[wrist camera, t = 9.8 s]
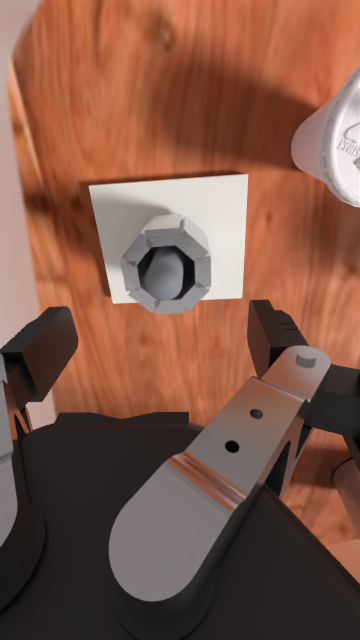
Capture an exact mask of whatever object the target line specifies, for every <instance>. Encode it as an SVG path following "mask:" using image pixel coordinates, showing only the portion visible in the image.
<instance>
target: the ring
mask: <svg viewBox="0 0 360 640" xmlns="http://www.w3.org/2000/svg"><path fill="white" fill-rule="evenodd" d="M174 245H176V246H177V247H178V248H180V249H181V250H182V251H183V252H184V253H185V254H186V255H188V256H189V257H190V258H191V259H192V260H193V261H194V262H193V263H192V264H191V265H190V266H189V267H188V268H187V269H186V270H185V271H184V273H183V280H182V288H181V291H180V293H179V294H178V295H177V296H176V297H175V298H173V299H170V300H165V301H164V300H158V299H155V298H154V297H152V296H151V295H150V294H149V293H148V292H147V290H146V287H145V277H146V274H147V272H148V270H149V267H150V265H151V263H150V255H149V249H150V248H151V247H159V246H174ZM121 258H123V259H122V260H121V262H120V263H121V268H122V274H123V279H124V284H125V290H126V291H130V292H129V294H128V295H129V296H130V297H131V298H133V299H134V300H135V301H137V302H138V303H139V304H141V305H142V306H143V307H145V308H146V309H147V310H149V311H150V312H151V313H152V312H153V311H154V310H156V314H171V313H185V308H186V309H187V310H188V311H190V310H191V309H192V308H193V307H194V306H195V305H196V304H197V303H198V302H199V301H200V300H201V299H202V298H203V297H204V296H205V295H206V294H207V293H208V292H209V291H210V289H209V287H211V255H210V250H209V245H208V239H207V237H206V234H205V233H204V232H203V231H202V230H201V229H200V228H199V227H198V226H197V225H196V224H195V223H194V222H193V221H191V220H190V219H189V218H188V217H187V216H186V215H185V217H184V218H183V219H182V214H172V215H159V216H155V217H154V218H151V219H150V220H149V222H148V223H147V224H146V226H145V227H144V228H143V229H142V231H141V232H140V233H139V235H138V236H137V237H136V239H135V240H134V241H133V243H132V244H131V245H130V247H129V248H128V249H127V251H126V252H125V253H124V255H123V256H122V257H121Z"/></svg>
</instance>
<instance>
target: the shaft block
mask: <svg viewBox="0 0 360 640" xmlns="http://www.w3.org/2000/svg"><path fill="white" fill-rule="evenodd" d="M247 187H248V174H234V175H221V176H207V177H193V178H180V179H166V180H153V181H139V182H126V183H112V184H98V185H91V186H89V191H90V196H91V200H92V205H93V210H94V215H95V220H96V224H97V229H98V234H99V239H100V244H101V248H102V253H103V258H104V263H105V267H106V272H107V277H108V282H109V287H110V291H111V296H112V301H113V304H116V303H138V302H137V301H135V300H134V299H133V298H131V297H130V296H129V295H128V294H129V292H130V291H126V290H125V284H124V279H123V274H122V268H121V263H120V262H121V260H122V259H123V258H121V257H122V256H123V255H124V253H125V252H126V251H127V249H128V248H129V247H130V245H131V244H132V243H133V241H134V240H135V239H136V237H137V236H138V235H139V233H140V232H141V231H142V229H143V228H144V227H145V226H146V224H147V223H148V222H149V220H150V219H151V218H154V217H155V216H159V215H172V214H182V219H183V218H184V217H185V215H186V216H187V217H188V218H189V219H190V220H191V221H193V222H194V223H195V224H196V225H197V226H198V227H199V228H200V229H201V230H202V231H203V232H204V233H205V234H206V237H207V239H208V245H209V250H210V255H211V287H209V289H210V291H209V292H208V293H207V294H206V295H205V296H204V297H203V298H202V299H201V300H208V299H231V298H242V289H243V269H244V248H245V228H246V207H247ZM149 255H150V263H151V265H150V267H149V270H148V272H147V274H146V277H145V287H146V290H147V292H148V293H149V294H150V295H151V296H152V297H154V298H155V299H158V300H164V301H165V300H170V299H173V298H175V297H176V296H177V295H178V294H179V293H180V291H181V288H182V280H183V273H184V271H185V270H186V269H187V268H188V267H189V266H190V265H191V264H192V263H193V262H194V261H193V260H192V259H191V258H190V257H189V256H188V255H186V254H185V253H184V252H183V251H182V250H181V249H180V248H178V247H177V246H176V245H174V246H159V247H151V248H150V249H149Z"/></svg>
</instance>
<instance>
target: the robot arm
mask: <svg viewBox="0 0 360 640" xmlns="http://www.w3.org/2000/svg"><path fill="white" fill-rule="evenodd" d="M247 339H248V346H249V349H250V353H251V356H252V360H253V363H254V367H255V370H256V374H257V377H258V378H257V377H254V376H252V377H250V378H249V379H248V380H247V381H246V382H245V383H244V384H243V386H242V387H241V388H240V389H239V390H238V391H237V392H236V393H235V395H234V396H233V397H232V398H231V399H230V400H229V401H228V402H227V404H226V405H225V406H224V407H223V408H222V409H221V410H220V411H219V413H218V414H217V415H216V416H215V417H214V418H213V419H212V421H211V422H210V423H209V424H208V425H207V426H206V427H203V426H200V425H197V424H194V423H190V422H189V412H154V413H150V414H145V415H140V416H135V417H130V418H126V419H117V418H113V417H108V416H104V415H100V414H95V413H91V412H85V413H59V415H58V417H57V419H56V421H55V422H54V423H53V424H49V425H46V426H43V427H41V428H38V429H35V430H33V429H32V424H31V420H30V417H29V412H28V410H27V408H26V406H25V405H26V404H27V403H28V402H42V401H43V400H44V398H45V397H46V395H47V394H48V392H49V391H50V389H51V388H52V386H53V385H54V383H55V382H56V380H57V379H58V377H59V375H60V374H61V372H62V371H63V369H64V368H65V366H66V365H67V363H68V362H69V360H70V359H71V357H72V356H73V354H74V353H75V351H76V349H77V347H78V335H77V332H76V328H75V325H74V321H73V318H72V314H71V311H70V309H69V308H68V307H67V306H62V307H49V308H47V309H46V310H45V311H44V312H43V313H42V314H41V315H40V316H39V317H38V318H37V319H35V320H34V321H32V322H30V323H28V324H27V325H26V326H25V327H24V328H23V329H22V330H21V332H18V333H17V335H15V337H13V338H12V339H11V340H10V341H9V342H8V343H7V344H6V345H4V346H3V347H2V348H1V349H0V640H360V584H359V583H358V581H357V580H356V579H355V578H354V577H353V576H352V575H351V574H350V573H349V572H348V571H347V570H346V569H345V568H344V567H343V566H342V565H341V563H340V562H339V561H338V560H337V559H336V558H335V557H334V556H333V555H332V554H331V553H330V552H329V551H328V550H327V549H326V547H325V546H324V545H323V544H322V543H321V542H320V541H319V540H318V539H317V538H316V537H315V536H314V535H313V534H312V533H311V532H310V530H309V529H308V528H307V527H306V526H305V525H304V524H303V523H302V522H301V521H300V520H299V519H298V518H297V517H296V516H295V515H294V513H293V512H292V511H291V510H290V509H289V508H288V507H287V506H286V505H285V504H284V503H283V502H282V499H283V497H284V495H285V492H286V490H287V488H288V485H289V482H290V479H291V476H292V474H293V471H294V469H295V466H296V464H297V462H298V460H299V458H300V456H301V454H302V452H303V450H304V448H305V446H306V444H307V442H308V440H309V438H310V436H311V434H312V432H313V430H314V428H317V429H321V430H325V431H329V432H333V433H337V434H340V435H342V436H343V438H344V440H345V442H346V444H347V447H348V449H349V451H350V453H351V455H352V457H353V459H352V460H350V461H348V462H346V463H344V464H343V465H341V466H340V467H339V468H338V469H337V470H336V472H335V474H334V478H333V479H334V483H335V485H336V487H337V490H338V492H339V495H340V497H341V499H342V501H343V503H344V505H345V508H346V510H347V512H348V515H349V517H350V519H351V521H352V524H353V526H354V528H355V530H356V533H357V535H358V537H359V539H360V370H359V369H353V368H348V367H342V366H337V365H334V364H331V361H330V358H329V357H328V356H327V355H326V354H325V353H324V352H322V351H320V350H318V349H316V348H313V347H309V345H308V343H307V342H306V340H305V339H304V337H303V335H302V334H301V332H300V331H299V330H298V327H297V326H296V324H295V323H294V321H293V319H292V318H291V316H289V315H288V314H286V313H285V312H283V311H282V310H275V311H274V309H273V307H272V305H271V303H270V301H269V300H250V303H249V315H248V330H247Z"/></svg>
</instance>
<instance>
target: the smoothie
mask: <svg viewBox="0 0 360 640" xmlns="http://www.w3.org/2000/svg"><path fill="white" fill-rule="evenodd" d="M291 156H292V159H293V162H294V163H295V165H296V166H297V167H298V168H299V169H300V170H302V171H304V172H306V173H307V174H309V175H311V176H313V177H315V178H316V179H318V180H320V181H322V182H324V183H325V184H327V186H328V188H329V190H330V191H331V192H332V193H333V194H334V195H335V196H336V197H338V198H339V199H340V200H341V201H343V202H345V203H347V204H350V205H352V206H354V207H360V66H359V67H358V68H357V69H356V70H355V71H354V72H353V73H352V74H351V76H350V77H349V78H348V79H347V81H346V82H345V83H344V85H343V86H342V87H341V88H340V90H339V91H338V93H337V94H336V95H335V96H334V97H333V98H331V99H330V100H329V101H328V102H326V103H325V104H324V105H323V106H322V107H320V108H319V109H318V110H317V111H316V112H314V113H313V114H312V115H311V116H310V117H308V118H307V119H306V120H305V121H304V122H303V123H302V124H301V125H300V126H299V127H298V129H297V130H296V132H295V134H294V136H293V139H292V144H291Z"/></svg>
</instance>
